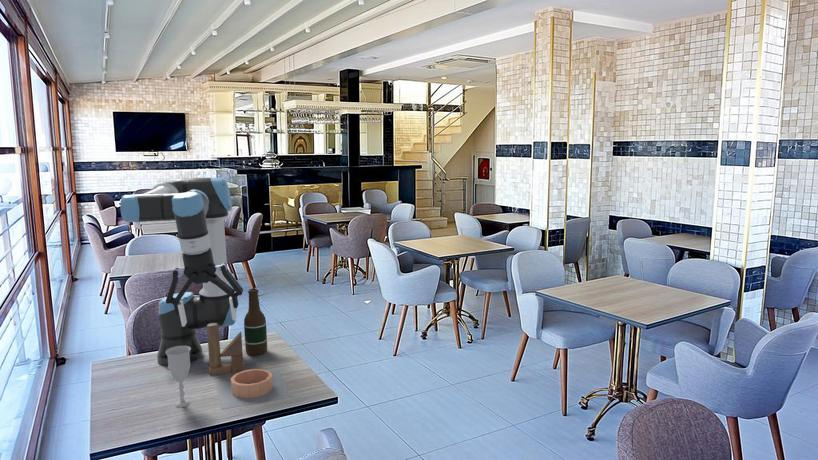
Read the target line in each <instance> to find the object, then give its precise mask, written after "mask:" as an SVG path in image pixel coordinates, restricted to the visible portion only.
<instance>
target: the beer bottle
mask: <svg viewBox="0 0 818 460" xmlns="http://www.w3.org/2000/svg"><path fill="white" fill-rule="evenodd" d="M259 292H260V291H259V289H258V288H250V289H248V290H247V293H248V310H247V312H246V314H245V316H244V319H243V329H244V344H245V345H244V347H245V354H247V356H250V357H251V356H252V357H259V356H263V355H265V354H266V353H267V352H268V334H267V320H266V316H265V314H264V313H263V312H262V310H261V308H260V300H259Z"/></svg>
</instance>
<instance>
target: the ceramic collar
mask: <svg viewBox="0 0 818 460" xmlns="http://www.w3.org/2000/svg"><path fill="white" fill-rule="evenodd" d="M272 373H273V372H271V371H270V370H267V369H264V368H263V369H262V368H261V369H260V368H251V369H246V370H243V371H242V372H236V373H235V374H234V375H232V377H230V380H231V390H232V395H234V396H236V397H239V398H254V397H259V396H262V395H265V394H267V393H269V392H270V391H271V390H272V388H273V378H272ZM253 382H258V383H253ZM247 383H252V384H247Z"/></svg>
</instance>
